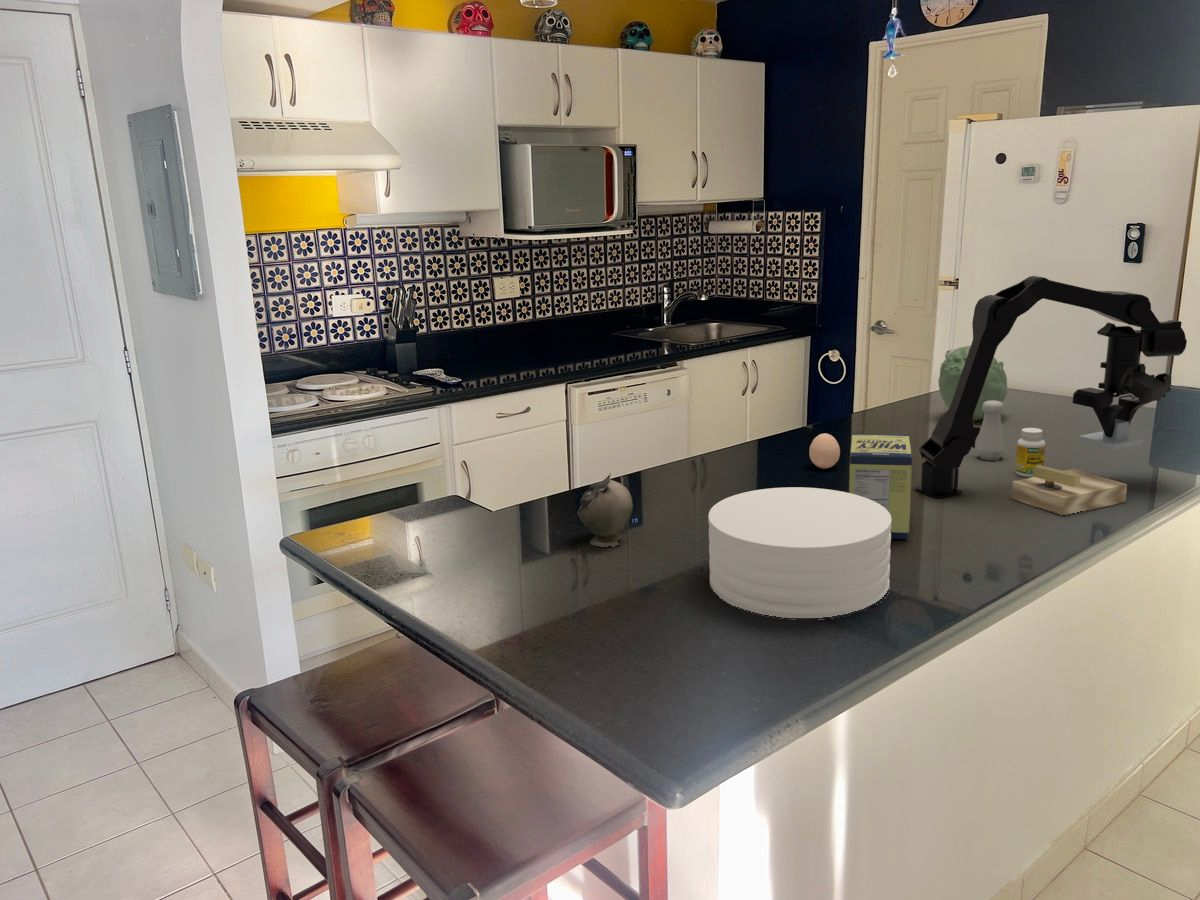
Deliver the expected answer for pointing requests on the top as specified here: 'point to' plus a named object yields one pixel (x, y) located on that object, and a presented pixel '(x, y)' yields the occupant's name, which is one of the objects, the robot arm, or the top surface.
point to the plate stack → (799, 551)
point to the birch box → (1070, 493)
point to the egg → (824, 451)
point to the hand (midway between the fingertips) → (1115, 435)
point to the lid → (1112, 438)
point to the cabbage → (952, 371)
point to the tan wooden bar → (1056, 476)
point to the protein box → (884, 475)
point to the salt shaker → (991, 432)
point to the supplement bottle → (1030, 451)
